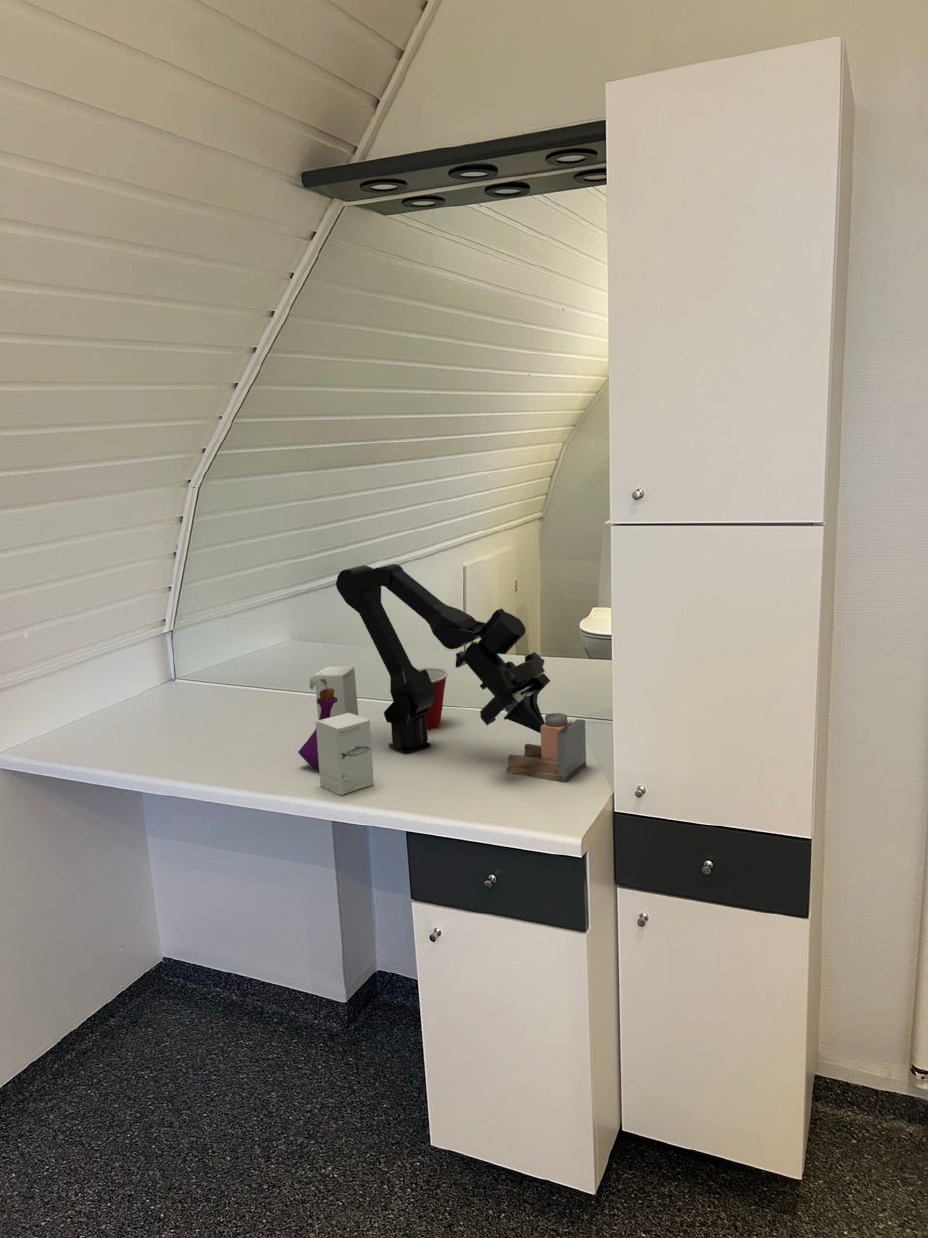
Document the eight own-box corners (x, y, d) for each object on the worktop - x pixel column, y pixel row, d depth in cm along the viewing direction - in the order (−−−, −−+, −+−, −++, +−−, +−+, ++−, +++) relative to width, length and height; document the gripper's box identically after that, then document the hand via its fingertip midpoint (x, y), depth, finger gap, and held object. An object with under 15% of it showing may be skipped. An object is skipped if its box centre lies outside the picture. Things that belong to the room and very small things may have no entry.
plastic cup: (391, 727, 205) (387, 674, 202) (429, 715, 212) (426, 664, 209) (422, 737, 197) (419, 682, 194) (461, 725, 204) (458, 672, 201)
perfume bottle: (327, 756, 188) (320, 669, 184) (353, 763, 183) (347, 674, 179) (298, 768, 182) (291, 678, 179) (324, 775, 177) (317, 683, 174)
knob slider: (541, 767, 173) (540, 719, 171) (553, 759, 177) (552, 711, 175) (561, 771, 171) (560, 721, 169) (573, 762, 175) (571, 713, 173)
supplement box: (340, 796, 167) (335, 728, 164) (319, 786, 172) (314, 720, 170) (375, 785, 171) (370, 719, 169) (353, 775, 177) (348, 711, 174)
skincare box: (348, 749, 192) (343, 675, 189) (318, 748, 193) (312, 675, 190) (361, 735, 200) (356, 664, 197) (331, 735, 201) (326, 664, 198)
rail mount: (507, 772, 175) (505, 726, 173) (529, 757, 182) (527, 712, 180) (565, 782, 168) (564, 734, 167) (586, 766, 176) (585, 720, 174)
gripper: (492, 653, 166) (550, 720, 162) (539, 631, 181) (593, 692, 178) (456, 692, 171) (511, 758, 168) (505, 667, 187) (557, 727, 183)
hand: (545, 732), depth 174 cm, fingers closed, pressing on knob slider
